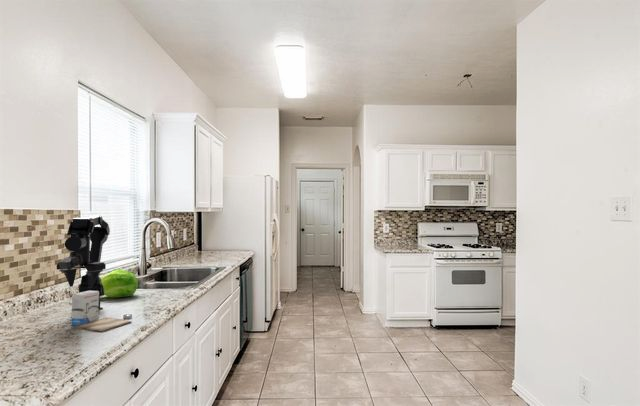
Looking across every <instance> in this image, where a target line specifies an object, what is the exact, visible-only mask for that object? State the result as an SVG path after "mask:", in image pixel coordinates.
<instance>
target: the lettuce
mask: <svg viewBox="0 0 640 406" xmlns="http://www.w3.org/2000/svg"><path fill="white" fill-rule="evenodd" d="M100 279H101V281H102V282H101V283H102V285H103V288H104V296H107V297H110V298H126V297H130V296H133V295H135V293H136V291H137V289H138V287H139V281H138V278H137V277H136V275H135V274H134V273H133V272H132V271H130V270H123V269H116V270H115V269H114V270H112V271H111V272H109V273H107V274H106V275H103V276H102V277H100Z"/></svg>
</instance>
